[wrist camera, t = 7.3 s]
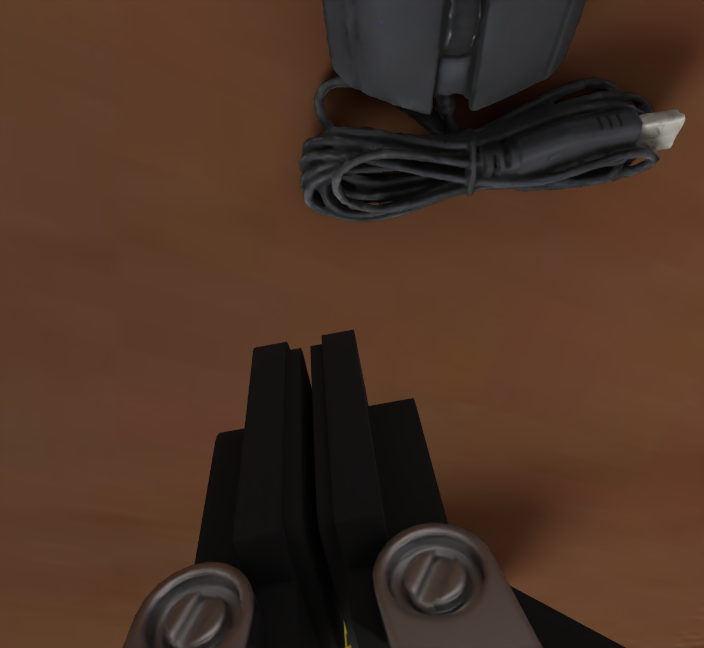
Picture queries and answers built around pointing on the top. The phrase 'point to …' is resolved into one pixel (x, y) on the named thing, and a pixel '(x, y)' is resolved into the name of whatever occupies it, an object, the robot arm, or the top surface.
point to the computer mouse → (481, 90)
